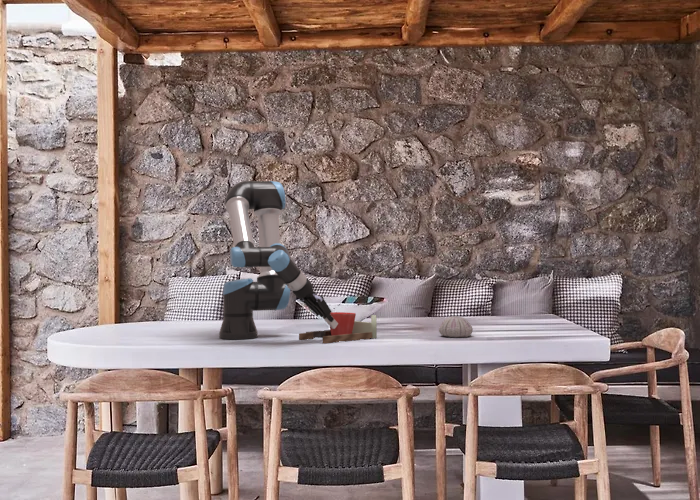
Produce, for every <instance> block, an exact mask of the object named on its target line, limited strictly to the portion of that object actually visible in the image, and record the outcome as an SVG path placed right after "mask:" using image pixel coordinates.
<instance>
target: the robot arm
mask: <svg viewBox="0 0 700 500" xmlns="http://www.w3.org/2000/svg"><path fill="white" fill-rule="evenodd" d="M224 202H225V203H224V206H225V207H224V208H225V210H226V212H227V214H228V215H229V221H230V222H229V223H230V228H231V235H232V240H233V246H232V247H231V248H230V251H229V253H230V254H229V258H230V260H229V261H230V266H232V267H234V268H257V267H259V269H260V271H259V272H260V274H258V276H257V277H256V281H254V280H253V278H250V277H249V278H241V279H235V280H233V279H232V280H229V281H225V282H224V284H223V289H222V291H223V292H222V296H223V319H222V323H221V327H220V329H219V333H218V334H219V335H218V336H219V337H218V338H219V339H222V340H249V339H250V340H251V339H256V338H258V330H257V327H256V322H255V320H254V311H257V312H259V311H261V312H262V311H281V310H286V308H287V307H288V305H289V303H290V297H291V292H292V293H293V295H294V296H295V297H296V298H297V299H299V301H300V302H301V303H303V304H304V305H305V306H306V307H308V308H309V309H310V310H311V311H312V312H313V313H314V314H315V315H316V316H317V317H318V316H319V317H321V318H322V319H323V320H324V321H325V322H326V324H328V326H329V328H330V327H331V328H332V329H335V328H336V326H337V325H338V323H337V322H336V320H335V319H334V318H333V317H332V316H331V315H330V313H331V312H332V310H331V308H330V306H329V305H328V303H327V302H326V300H325V298H324V296H323V295H322V294H320V296H319V295H318V294H317V293H316V292H315V291H314V290H313V289H314V285H313V283H312V282H311V281H310V280H309V278H308V277H307V276H306V275H305V274H304V273H303V271H302V270H301V269H300V268H299V267H298V266H297V264H296V263H295V262H294V261H293V259H292V257H291V256H290V254H289V251H288V249H287V247H286V246H285V245H284V244H283V243H281V241H280V239H281V238H280V234H281V233H280V220H279V217H280V215H282V213H283V210H284V209H286V205H287V204H286V193H285V189H284V186H283V185H282V183H281V182H279V181H273V180H269V181H268V180H267V181H264V180H262V181H261V180H257V181H256V180H243V181H239V182H238V183H236V184H235V185H233V186H232V187H231V188H230V189H229V190H228V192H227V194H226V196H225V200H224ZM249 210H253V215H254V216H255V217H257V225H258V226H257V227H258V230H257V231H258V246H255V243H254V238H253V232H252V227H251V221H250V216H249Z"/></svg>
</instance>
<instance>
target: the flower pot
mask: <svg viewBox="0 0 700 500" xmlns="http://www.w3.org/2000/svg"><path fill="white" fill-rule="evenodd" d="M330 315H331V316H332V317H333V318H334V319H335V320H336V322H337V323H338V325H337V326H336V328H335V329H332V328H331V327H330V326H329V330H330V331H331V336H333V335H344V334H352V331H353V327H354V321H356V315H357V314H356V312H345V311H344V312H339V311H336V312H335V311H334V312H331V313H330Z"/></svg>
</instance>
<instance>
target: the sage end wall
mask: <svg viewBox="0 0 700 500" xmlns="http://www.w3.org/2000/svg"><path fill="white" fill-rule="evenodd" d="M370 316H371V317H370V319H371V321H370V322H368V321H357V320H355V321H354V327H353V331H352V334H355V333H365V332H372V338H377V337H378V336H377V333H378V331H377V330H378V329H377V326H378V324H377V315H376V314H371V315H370ZM377 339H378V338H377Z"/></svg>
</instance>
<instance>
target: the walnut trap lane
mask: <svg viewBox="0 0 700 500" xmlns="http://www.w3.org/2000/svg"><path fill="white" fill-rule="evenodd" d="M315 337H318V338H322V344H324V345H325V344H331V343H333V342H335V343H340V342H339V341H345V342H352V340H354V341H360V339H364V340H371V339H370V338H372V332H365V333H355V334H344V335H333V336H331V331H330V329H326V330H312V331H305V332H302V333H301V332H300V333H298V341H304V340H305V341H306V340H307V339H308V340H314V339H316V338H315ZM308 340H307V341H308ZM333 344H334V343H333Z"/></svg>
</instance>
